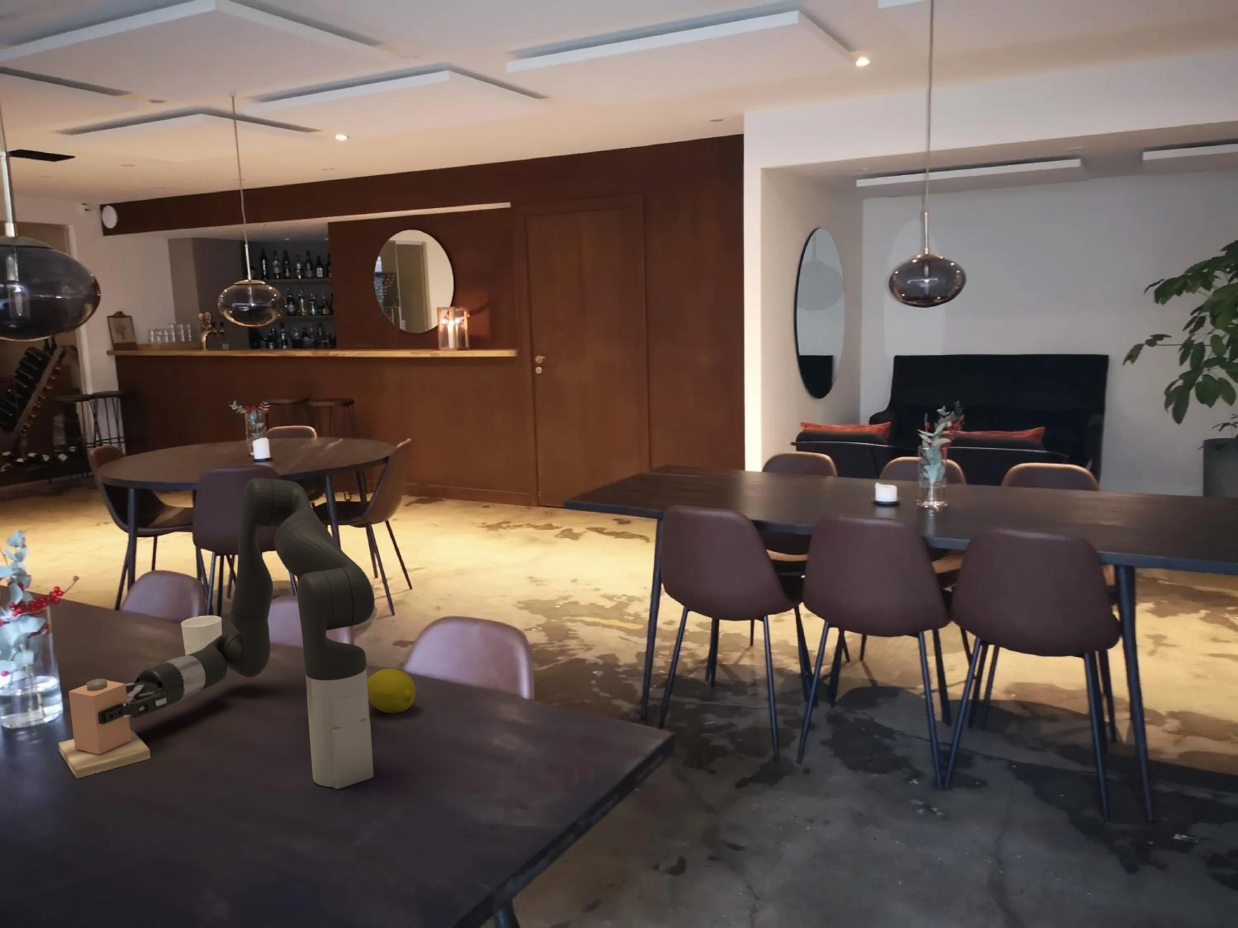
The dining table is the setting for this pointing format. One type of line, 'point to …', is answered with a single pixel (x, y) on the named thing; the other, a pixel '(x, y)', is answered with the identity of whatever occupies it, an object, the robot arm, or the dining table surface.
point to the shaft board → (103, 756)
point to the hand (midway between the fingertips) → (86, 715)
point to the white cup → (200, 632)
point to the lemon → (391, 690)
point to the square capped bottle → (85, 716)
